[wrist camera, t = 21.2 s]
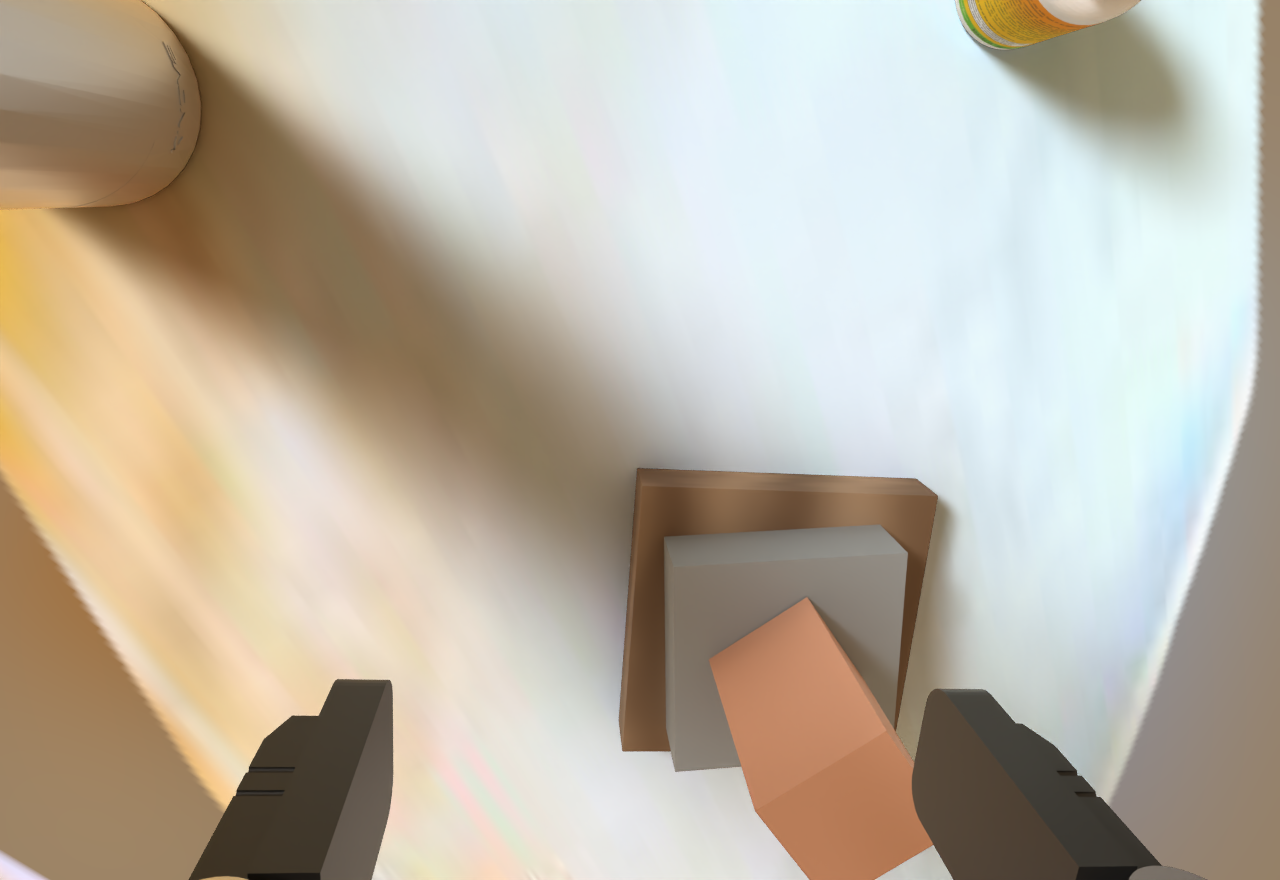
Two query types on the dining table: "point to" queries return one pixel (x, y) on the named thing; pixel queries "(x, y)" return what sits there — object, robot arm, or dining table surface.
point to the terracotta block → (818, 750)
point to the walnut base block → (747, 507)
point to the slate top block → (773, 616)
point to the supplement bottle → (1033, 19)
